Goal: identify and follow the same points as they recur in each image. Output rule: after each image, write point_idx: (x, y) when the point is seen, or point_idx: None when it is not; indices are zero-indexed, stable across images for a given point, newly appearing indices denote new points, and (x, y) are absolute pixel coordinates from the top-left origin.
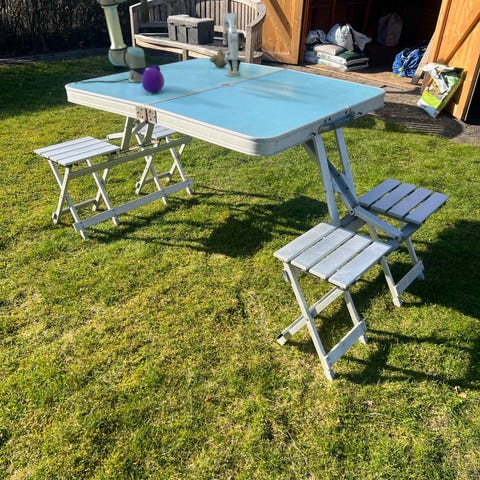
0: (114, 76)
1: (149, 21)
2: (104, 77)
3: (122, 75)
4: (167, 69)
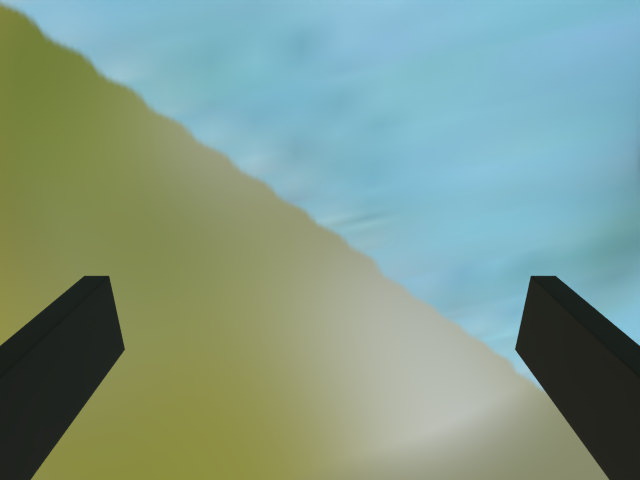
0: (500, 327)
1: (106, 285)
2: (517, 369)
3: (478, 293)
4: (286, 19)
